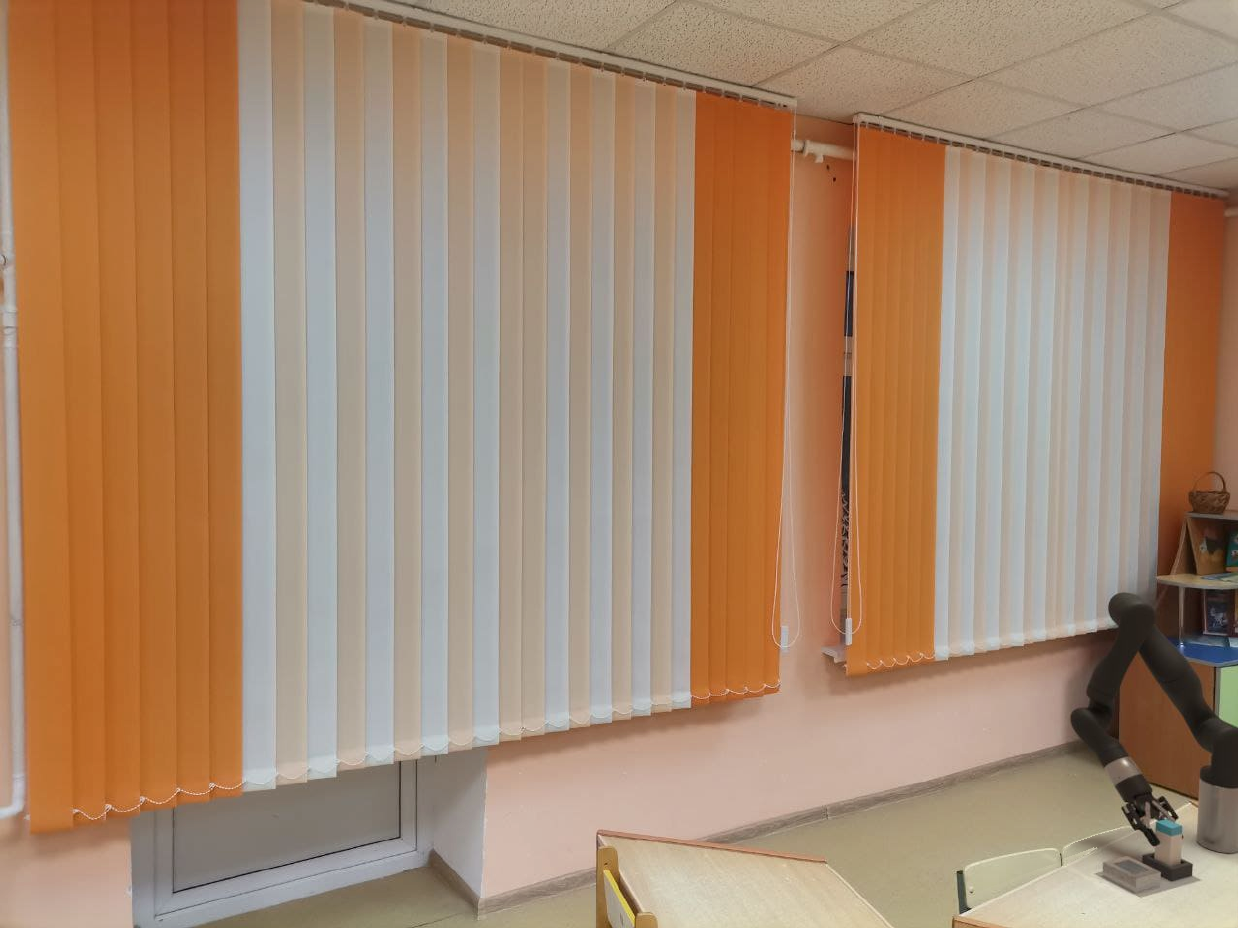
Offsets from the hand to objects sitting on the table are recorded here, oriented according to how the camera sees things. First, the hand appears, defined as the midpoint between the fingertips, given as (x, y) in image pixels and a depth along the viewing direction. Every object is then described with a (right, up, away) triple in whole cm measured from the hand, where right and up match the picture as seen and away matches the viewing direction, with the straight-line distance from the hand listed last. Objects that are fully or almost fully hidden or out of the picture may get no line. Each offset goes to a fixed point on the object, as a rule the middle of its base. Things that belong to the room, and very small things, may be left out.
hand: (1168, 842), depth 218 cm
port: (-12, -8, -5) cm, 15 cm away
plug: (0, -7, 0) cm, 7 cm away
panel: (-7, -8, -2) cm, 11 cm away
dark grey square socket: (0, -8, +1) cm, 8 cm away
